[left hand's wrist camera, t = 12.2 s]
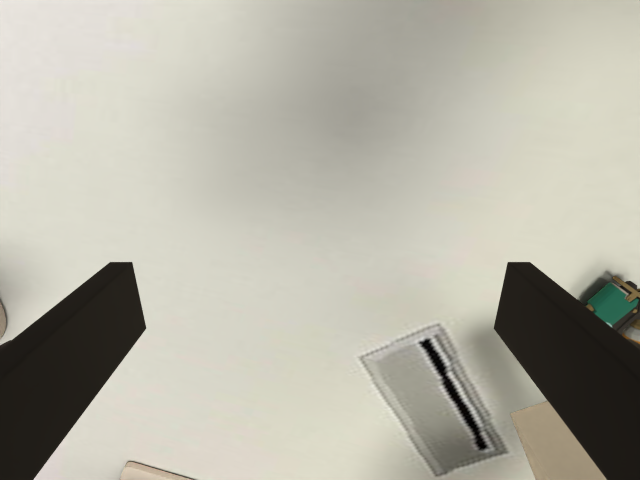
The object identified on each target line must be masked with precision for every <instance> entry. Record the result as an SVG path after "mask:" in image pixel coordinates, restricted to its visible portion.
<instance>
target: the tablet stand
mask: <svg viewBox="0 0 640 480" xmlns="http://www.w3.org/2000/svg"><path fill="white" fill-rule="evenodd" d="M120 480H192V479H188V478H185V477H181V476H178V475H175V474H171V473H168V472H165V471H161V470H158V469H154V468H151V467H148V466H144V465H141V464H138V463H134V462H128V463H127V464H126V466H125V468H124V470H123V472H122V475H121V478H120Z"/></svg>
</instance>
